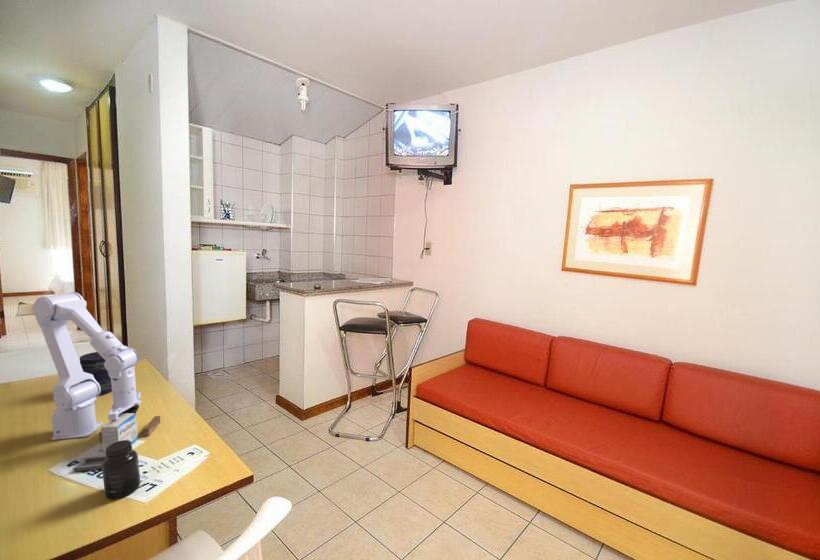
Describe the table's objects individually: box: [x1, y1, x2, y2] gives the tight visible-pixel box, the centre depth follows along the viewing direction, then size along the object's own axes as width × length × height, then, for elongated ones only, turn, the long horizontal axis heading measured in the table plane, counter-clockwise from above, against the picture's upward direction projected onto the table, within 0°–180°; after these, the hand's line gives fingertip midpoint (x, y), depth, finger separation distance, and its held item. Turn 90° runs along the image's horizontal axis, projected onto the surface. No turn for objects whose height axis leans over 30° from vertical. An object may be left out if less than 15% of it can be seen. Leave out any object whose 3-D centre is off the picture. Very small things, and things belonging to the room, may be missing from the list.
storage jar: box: [79, 351, 112, 398], centre depth 137 cm, size 10×10×15 cm
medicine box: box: [100, 413, 139, 456], centre depth 103 cm, size 8×4×9 cm, turn 5°
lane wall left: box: [99, 431, 102, 442], centre depth 111 cm, size 2×8×2 cm, turn 14°
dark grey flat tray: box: [74, 455, 107, 473], centre depth 96 cm, size 9×4×1 cm, turn 104°
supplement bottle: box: [101, 440, 141, 500], centre depth 86 cm, size 7×7×12 cm
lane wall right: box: [142, 415, 161, 437], centre depth 113 cm, size 2×8×2 cm, turn 14°
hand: (127, 430), depth 110 cm, fingers closed
